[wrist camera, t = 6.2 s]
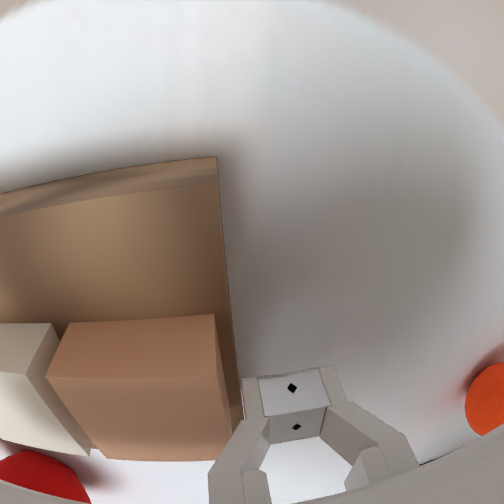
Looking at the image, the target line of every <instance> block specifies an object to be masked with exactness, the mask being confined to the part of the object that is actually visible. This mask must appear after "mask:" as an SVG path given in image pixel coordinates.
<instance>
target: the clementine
mask: <svg viewBox="0 0 504 504" xmlns="http://www.w3.org/2000/svg"><path fill="white" fill-rule="evenodd" d="M465 414H466V418H467V420H468V422H469V425H470V426H471V428H472V429H473V430H474V431H475V432H476V433H478V434H480V435H481V436H483V435H485V434H487V433H489V432H490V431H492V430H494V429H495V428H497V427H499V426H500V425H502V424H503V423H504V362H500V363H497V364H494V365H491V366H489V367H487V368H486V369H485V370H483V371H482V372H481V373H480V374H479V375H478V376H477V377H476V378H475V379H474V381H473V382H472V384H471V386H470V388H469V390H468V393H467V395H466V401H465Z"/></svg>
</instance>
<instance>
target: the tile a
mask: <svg viewBox="0 0 504 504" xmlns="http://www.w3.org/2000/svg"><path fill="white" fill-rule="evenodd" d="M59 344H60V340H59V338H58V336H57V334H56V332H55V330H54V328H53V326H52V323H0V438H1V439H3V440H6V441H10V442H14V443H18V444H22V445H26V446H31V447H35V448H40V449H45V450H50V451H56V452H61V453H68V454H74V455H81V456H89V455H90V450H91V445H92V441H91V439H90V438H89V437H88V436H87V434H86V433H85V432H84V431H83V429H82V428H81V427H80V425H79V424H78V423H77V422H76V420H75V419H74V418H73V416H72V415H71V413H70V412H69V411H68V409H67V408H66V407H65V405H64V404H63V402H62V401H61V399H60V398H59V397H58V395H57V394H56V392H55V391H54V389H53V388H52V386H51V385H50V383H49V382H48V380H47V378H46V377H45V375H46V373H47V370H48V368H49V366H50V364H51V361H52V359H53V357H54V355H55V352H56V350H57V348H58V346H59Z"/></svg>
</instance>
